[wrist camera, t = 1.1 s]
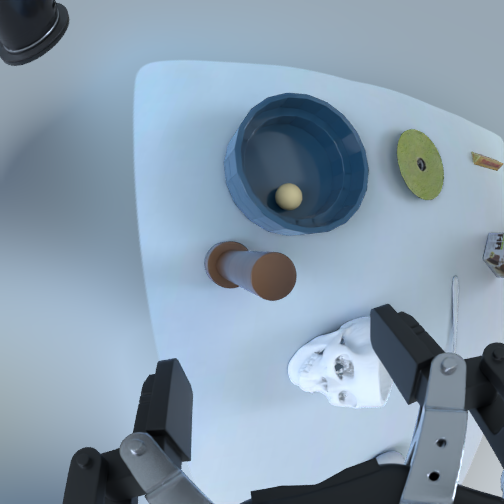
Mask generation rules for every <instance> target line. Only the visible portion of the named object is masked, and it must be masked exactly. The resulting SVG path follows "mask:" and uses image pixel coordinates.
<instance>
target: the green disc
mask: <svg viewBox="0 0 504 504" xmlns="http://www.w3.org/2000/svg"><path fill="white" fill-rule="evenodd" d="M397 158H398V164H399V167H400V171H401V174H402V177H403V178H404V181H405V183H406V184H407V186H408V187H409V189H410V190H412V192H413V193H414V194H415V195H417V196H418V197H419V198H421V199H424V200H431V199H434V198H435V197H437V196H438V194H439V193H440V191H441V189H442V185H443V179H444V176H443V175H444V172H443V171H444V170H443V164H442V160H441V157H440V155H439V152H438V150H437V149H436V147H435V145H434V143H432V141H431V140H430V139H429V138H428V137H427V136H426V135H425V134H423V133H422V132H420V131H418V130H415V129H414V130H413V129H410V130H407V131H405V132H404V133H402V135H401V137H400V139H399V141H398V147H397Z"/></svg>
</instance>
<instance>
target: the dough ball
mask: <svg viewBox="0 0 504 504" xmlns="http://www.w3.org/2000/svg"><path fill="white" fill-rule="evenodd" d="M275 200H276V202H277V204H278V206H279V207H281V208H282V209H284V210H293V209H296V208H297V207H298V206H299V205H300V204H301V202H302V192H301V190H300V189H299V188H298V187H297V186H296V185H294V184H291V183H286V184H283V185H281V186H280V187H279V188H278V189H277V191H276V194H275Z"/></svg>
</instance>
